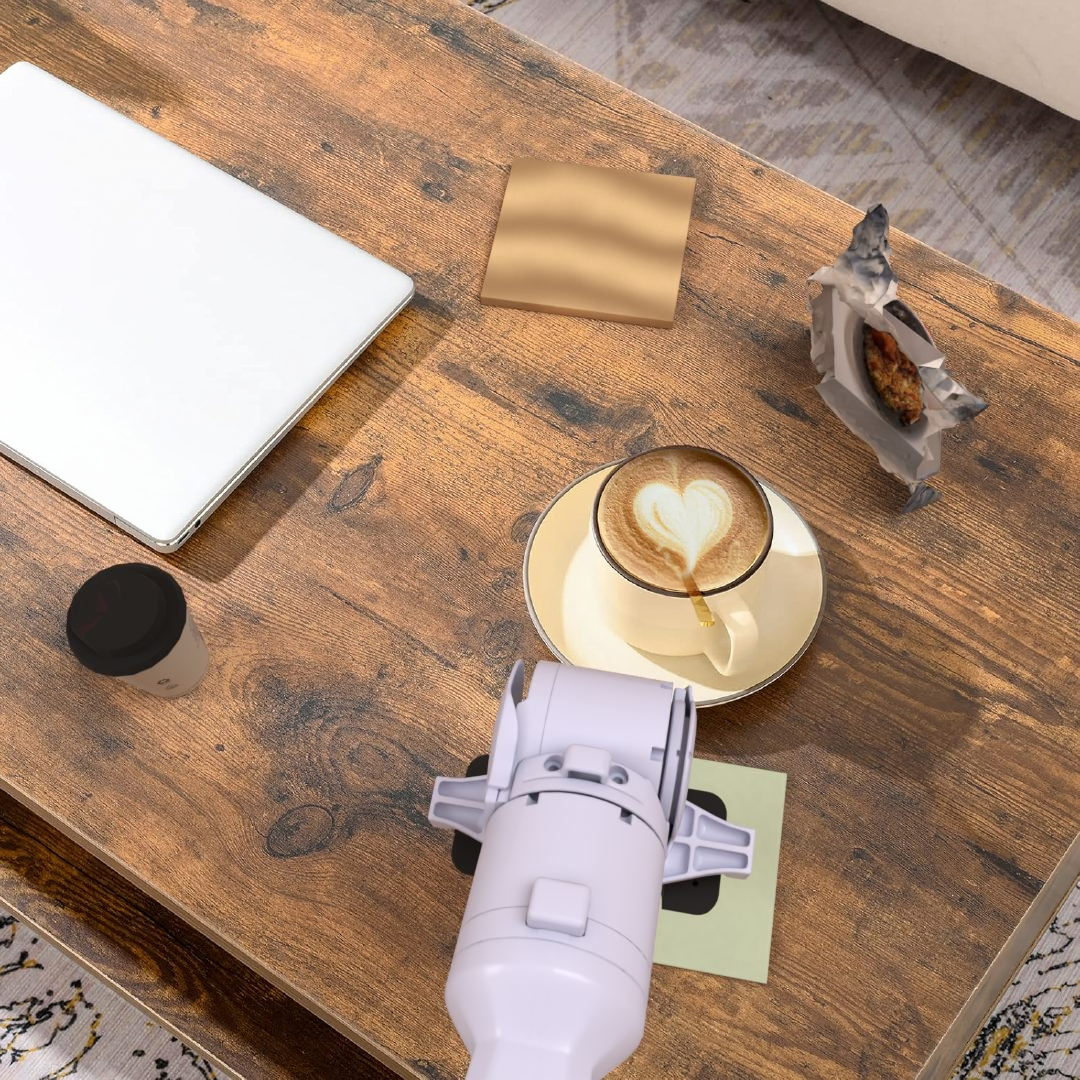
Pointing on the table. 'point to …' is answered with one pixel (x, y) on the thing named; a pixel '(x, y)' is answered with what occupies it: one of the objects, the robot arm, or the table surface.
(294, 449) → the table surface
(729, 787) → the placemat
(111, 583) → the coffee cup
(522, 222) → the bread board
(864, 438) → the meal
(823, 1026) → the table surface
